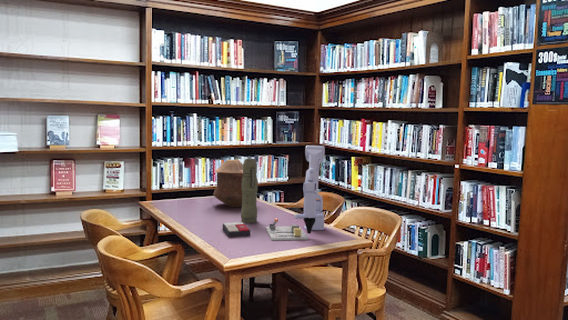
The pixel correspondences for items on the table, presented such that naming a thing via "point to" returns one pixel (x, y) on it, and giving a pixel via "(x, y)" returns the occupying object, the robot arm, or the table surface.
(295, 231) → the slider brass
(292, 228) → the slider grey
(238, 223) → the red and grey box
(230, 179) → the pottery vessel
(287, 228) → the panel
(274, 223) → the toggle lever
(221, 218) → the table surface
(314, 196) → the robot arm
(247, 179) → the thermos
